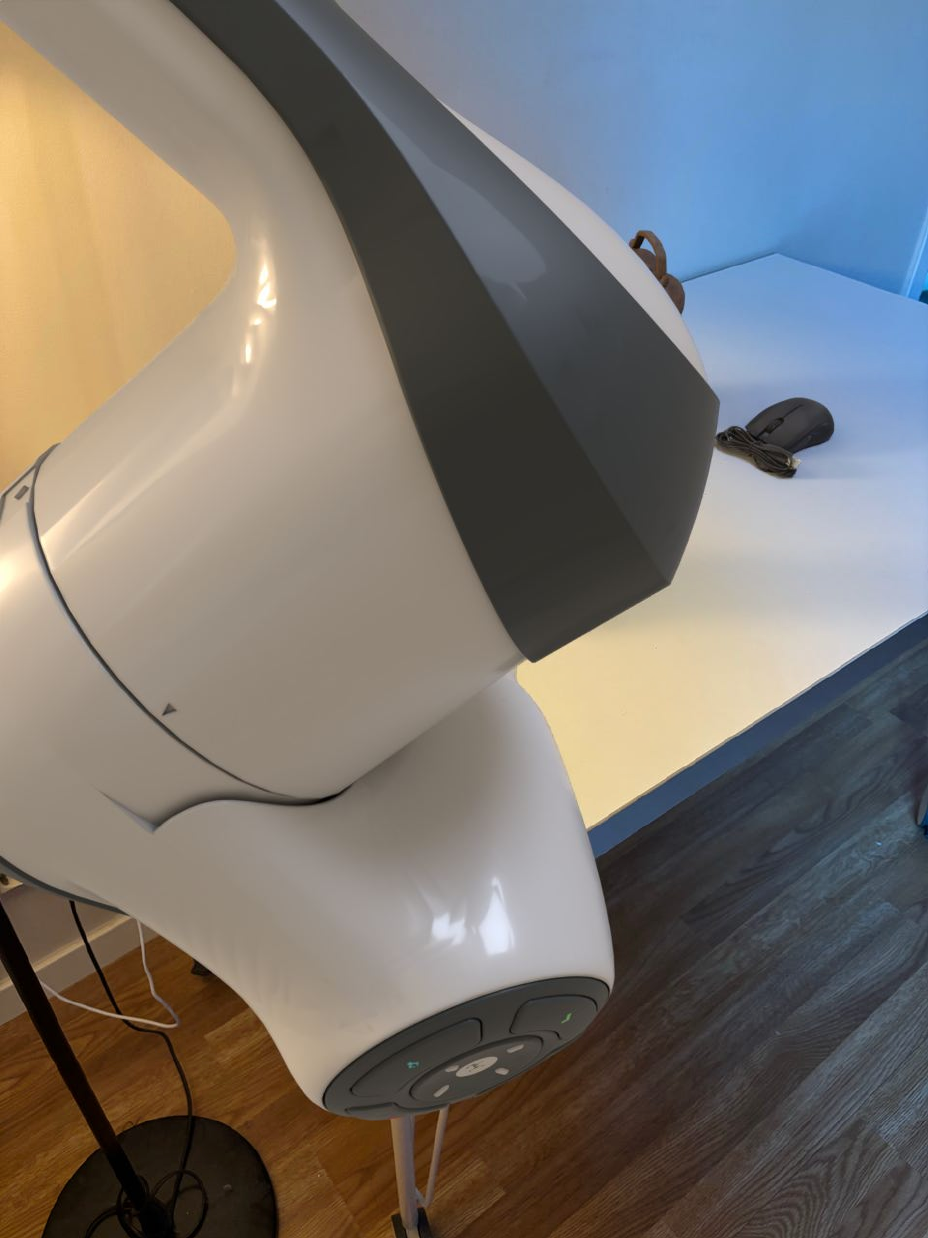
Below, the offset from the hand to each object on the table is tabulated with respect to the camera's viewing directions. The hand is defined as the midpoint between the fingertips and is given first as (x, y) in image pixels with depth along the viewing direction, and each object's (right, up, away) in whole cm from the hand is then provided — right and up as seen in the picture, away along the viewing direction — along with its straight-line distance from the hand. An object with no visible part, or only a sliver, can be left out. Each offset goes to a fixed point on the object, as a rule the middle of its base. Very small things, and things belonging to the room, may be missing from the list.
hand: (322, 422), depth 43 cm
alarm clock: (+26, +15, +68) cm, 75 cm away
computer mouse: (+43, +11, +64) cm, 77 cm away
